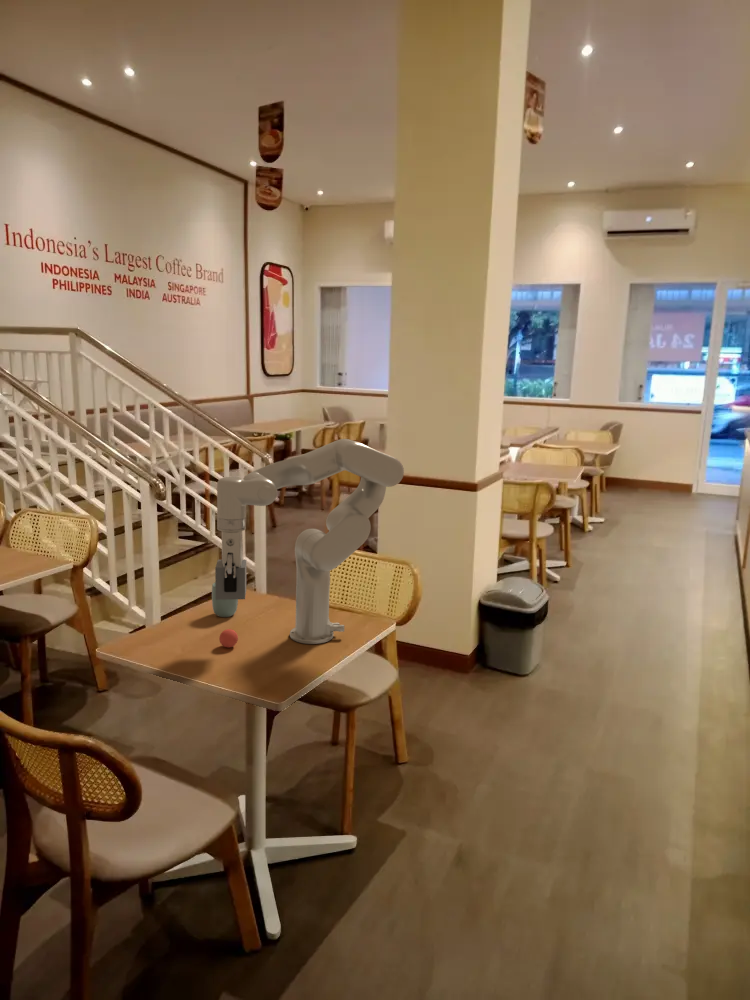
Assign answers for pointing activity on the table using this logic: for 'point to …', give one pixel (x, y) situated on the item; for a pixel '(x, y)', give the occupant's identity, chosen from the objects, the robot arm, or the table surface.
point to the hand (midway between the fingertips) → (231, 586)
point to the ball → (228, 638)
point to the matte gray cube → (220, 582)
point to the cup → (223, 605)
